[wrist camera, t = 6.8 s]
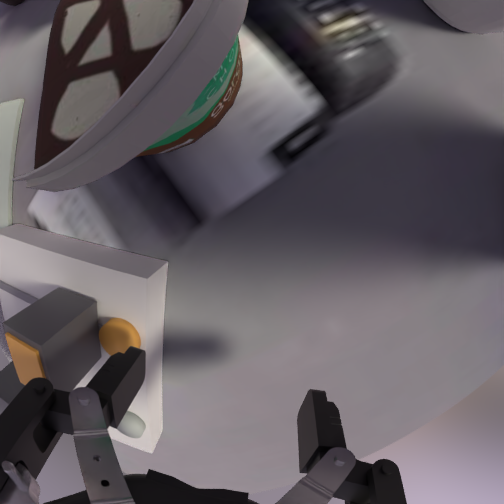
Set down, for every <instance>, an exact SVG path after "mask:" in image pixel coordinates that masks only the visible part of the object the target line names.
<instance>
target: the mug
mask: <svg viewBox="0 0 504 504" xmlns="http://www.w3.org/2000/svg"><path fill="white" fill-rule="evenodd" d="M423 1H424V2H425V3H426V4H427V5H428V6H429V7H430V8H431V9H432V10H433V11H434V12H435V13H436V14H437V15H438V16H439V17H440V18H442V19H443V20H444V21H445V22H447V23H448V24H450V25H451V26H453V27H455V28H457V29H459V30H461V31H465V32H470V33H477V34H488V33H498V32H504V0H423Z"/></svg>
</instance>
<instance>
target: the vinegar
mask: <svg viewBox="0 0 504 504" xmlns="http://www.w3.org/2000/svg"><path fill="white" fill-rule="evenodd" d="M23 1H24V0H0V2H3V3H5V4H8V5H13V6H15V5H17V4H19V3H21V2H23Z"/></svg>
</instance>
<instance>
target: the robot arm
mask: <svg viewBox="0 0 504 504" xmlns="http://www.w3.org/2000/svg"><path fill="white" fill-rule="evenodd" d="M145 374H146V352H145V350H142V349H139V348H136V347H133V346H130V347H129V348H128V349H127V350H126V352H125V353H124V354H123V353H121V352H117V353H115V354H114V355H112V356H110V357H109V358H108V360H107V361H106V362H105V364H103V366H102V367H101V369H99V371H98V372H97V373H96V374H95V375H94V377H93V378H92V379H91V380H90V382H89V383H88V384H87V385H86V386H85V387H78V388H75V389H74V390H72V391H71V392H67V391H62V390H57V389H54V388H53V385H52V383H51V382H50V381H49V380H48V379H45V378H41V377H38V378H33V379H31V380H30V381H29V382H28V383H27V384H26V385H25V386H24V387H23V389H22V390H21V391H20V392H19V393H18V394H17V396H16V397H15V398H14V399H13V400H12V401H11V403H10V404H9V405H8V406H7V407H6V409H5V410H4V411H3V412H2V413H1V415H0V504H39V502H38V501H39V495H40V487H39V485H38V483H37V481H36V478H37V476H38V475H39V473H40V471H41V469H42V468H43V466H44V464H45V462H46V460H47V459H48V457H49V455H50V454H51V452H52V450H53V449H54V447H55V445H56V444H57V442H58V440H59V439H60V437H61V435H62V434H63V433H66V434H71V435H73V437H74V442H75V447H76V452H77V456H78V460H79V465H80V468H81V472H82V476H83V480H84V483H85V486H86V490H85V491H82V492H79V493H76V494H73V495H70V496H67V497H63V498H61V499H57V500H54V501H50V502H46V503H44V504H258V503H257V502H254V501H252V500H249V499H248V493H245V492H238V491H232V490H227V489H198V488H195V487H192V486H190V485H188V484H186V483H184V482H182V481H180V480H178V479H176V478H174V477H172V476H169V475H166V474H162V473H159V472H156V471H153V470H150V469H149V470H148V473H147V474H129V475H124V476H123V473H122V471H121V468H120V465H119V463H118V460H117V457H116V454H115V451H114V448H113V445H112V442H111V438H110V435H109V432H108V430H107V429H108V428H109V426H111V427H113V428H115V429H117V427H118V426H119V424H120V422H121V420H122V419H123V417H124V415H125V413H126V412H127V410H128V408H129V407H130V405H131V403H132V401H133V400H134V398H135V396H136V395H137V393H138V391H139V390H140V388H141V386H142V384H143V382H144V379H145ZM341 424H342V423H341V419H340V414H339V410H338V408H337V407H336V405H335V404H334V403H333V402H328V401H327V397H326V392H325V391H320V390H313V389H310V390H309V391H308V393H307V395H306V397H305V399H304V401H303V403H302V406H301V408H300V410H299V413H298V418H297V425H298V445H299V468H300V473H307V475H306V476H305V477H303V478H302V479H301V480H300V481H299V482H298V483H297V484H296V485H295V486H294V487H293V488H292V489H291V490H289V491H288V492H287V493H286V494H285V495H284V496H283V497H282V498H281V499H280V500H279V501H278V502H277V503H275V504H327V503H328V502H329V501H330V499H331V498H332V497H335V498H339V499H342V500H345V504H407V503H406V498H405V494H404V489H403V484H402V480H401V476H400V472H399V468H398V466H397V465H396V464H395V463H394V462H392V461H390V460H387V459H380V460H378V461H376V462H375V463H374V464H369V463H366V462H361V461H359V460H357V459H356V458H355V456H354V454H353V453H352V452H351V451H349V450H348V449H347V448H346V443H345V438H344V433H343V428H342V426H341Z"/></svg>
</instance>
